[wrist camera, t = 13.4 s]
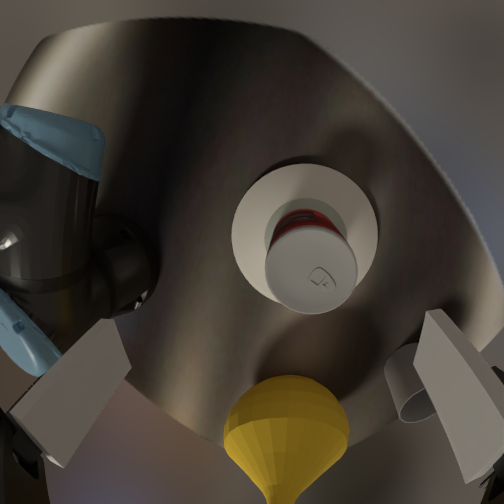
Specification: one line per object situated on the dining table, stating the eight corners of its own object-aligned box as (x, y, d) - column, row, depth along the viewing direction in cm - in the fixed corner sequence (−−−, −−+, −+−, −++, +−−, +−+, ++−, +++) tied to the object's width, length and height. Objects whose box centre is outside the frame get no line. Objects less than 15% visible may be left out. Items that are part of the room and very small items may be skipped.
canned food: (323, 279, 33) (335, 326, 23) (263, 256, 34) (250, 296, 23) (348, 222, 31) (374, 248, 21) (285, 197, 31) (282, 212, 21)
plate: (241, 305, 38) (240, 309, 36) (226, 170, 33) (223, 170, 31) (371, 298, 35) (374, 302, 34) (373, 162, 30) (376, 161, 28)
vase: (214, 390, 44) (159, 540, 15) (291, 334, 38) (274, 547, 10) (286, 435, 45) (272, 566, 17) (363, 392, 40) (388, 549, 12)
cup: (407, 335, 36) (431, 377, 26) (436, 352, 36) (459, 390, 27) (374, 373, 38) (387, 417, 29) (404, 386, 39) (420, 426, 29)
